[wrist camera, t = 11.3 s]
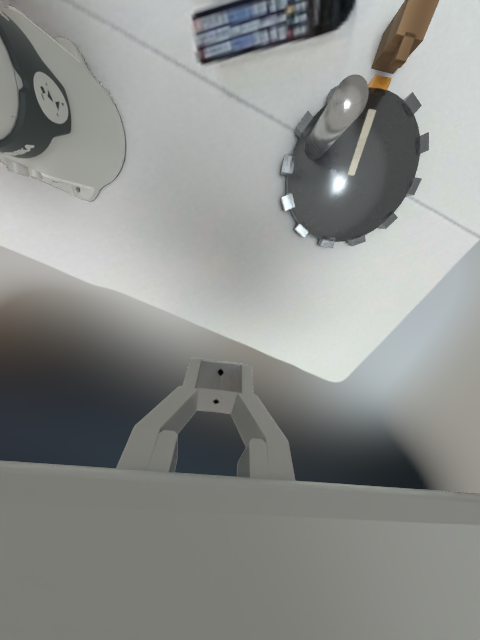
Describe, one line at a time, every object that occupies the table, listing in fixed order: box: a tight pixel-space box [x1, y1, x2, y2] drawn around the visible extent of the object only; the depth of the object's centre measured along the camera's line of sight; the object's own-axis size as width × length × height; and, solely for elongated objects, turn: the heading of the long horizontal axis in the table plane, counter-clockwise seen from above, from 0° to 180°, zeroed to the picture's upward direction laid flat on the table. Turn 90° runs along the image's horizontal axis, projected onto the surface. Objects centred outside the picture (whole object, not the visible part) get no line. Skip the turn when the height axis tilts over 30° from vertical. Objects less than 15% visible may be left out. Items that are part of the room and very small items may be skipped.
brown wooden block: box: [372, 0, 439, 74], centre depth 23 cm, size 3×5×5 cm, turn 168°
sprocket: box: [280, 75, 429, 248], centre depth 24 cm, size 20×20×13 cm
